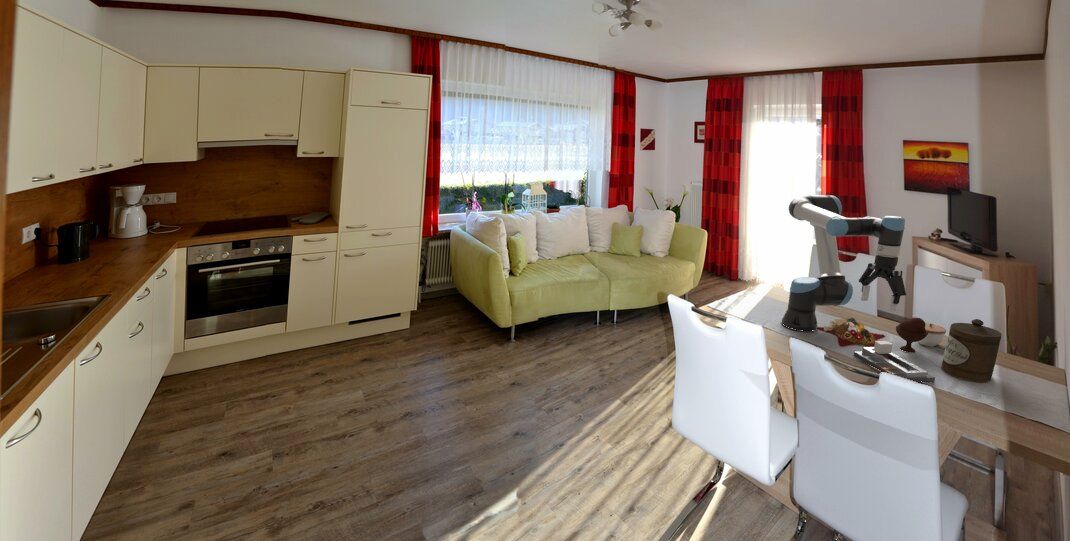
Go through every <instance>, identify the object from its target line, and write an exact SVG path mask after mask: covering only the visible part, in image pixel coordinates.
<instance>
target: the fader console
mask: <svg viewBox="0 0 1070 541" xmlns="http://www.w3.org/2000/svg"><path fill="white" fill-rule="evenodd" d="M887 354H889V358H888V359H887V358H886V357H884V356H882V355H880V354H879V353H877V352H875V351H874V346H866V347H865V346H864V347H862V349H861V351H853V357H854V356H855V358H856V359H858V360H860V362H862V361H863V362H862V363H864V362H865V363H864V364H866V363H867V364H869V365H871V366H873V367H875V368H877V369H879V370H881V372H887V373H892V374H894V375H897V376H901V377H904V378H907V379H910V380H913V381H916V382H920V383H919V384H923V383H922V382H926V383H927V382H928V383H930V382H932V383H935V380H936V377H935V376H933V375H931V374H929V373H928V371H926V370H924V369H922V368H921V367H919V366H917V365H915V364H913V363H912V362H910V361H908V360H907V359H904V358H902V357H901V356H900V355H898V354H895V353H893V352H892V351H891V353H887ZM867 364H866V365H867ZM869 365H868V366H869ZM871 366H870V367H871ZM921 381H922V382H921ZM928 383H927V384H928Z"/></svg>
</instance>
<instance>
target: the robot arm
mask: <svg viewBox="0 0 1070 541" xmlns="http://www.w3.org/2000/svg"><path fill="white" fill-rule="evenodd" d="M842 211H843V206H842V202H841V201H840V198H838V197H836V196H835V195H829V194H823V195H820V194H816V195H815V194H813V195H812V194H811V195H808V194H802V195H800V196H799V195H798V196H797V197H795V198H794V199H792V201H791V202H790V203H789V205H788V212H789V215H790V216H791V217H792V218H794V219H795V220H798V221H802V222H803V221H805V222H808V223H809V224H810V226H812V227H813V229H814V230H813V231H814V239H815V246H816V253H817V254H816V255H817V262H818V269H819V270H818V271H819V275H818V277H812V276H800V277H796V278H794V279H793V280H792V281H791V283H790V287H789V296H788V303H787V309H786V311H785V313H784V315H783V317H782V318H781V325H782V324H784V325H785V326H787V327H789V328H793V329H796V330H795V331H797V330H803V331H802V332H806V331H809V332H813V331H812V330H815V331H817V328H818V321H817V315H816V308H817V306H821V307H822V306H828V307H829V306H834V307H839V306H844V305H847V304H848V303H849V302H850V300H851V299H852V296H853V295H854V294H853V293H854V289H853V288H854V287H853V285H852V284H851V282H850V281H848V280H846V276H845V275H844V274H843V273H842V272H841V264H840V259H839V250H838V243H837V238H839V237H875V238H878V241H877V247H876V254H875V258H874V262H872V263H871V262H868V264H867V267H866V269H865V270H864V272H863V273H862V275H861V276H860V278H859V279H858V283H860V284H861V297H860V298H861V299H860V301H862V302H864V301H866V302H867V301H869V296H870V290H871V283H873V282H874V281H875V280H876V279H877V278H881V279H884V280H885V281H886V282H887V284H888V285H889V288H890V290H891V292H892V295H891V296H890V302H889V307H888V311H889V312H897V307H898V305H899V303H900V300H901V297H902V296H903V297H905V296H907V292H906V288H905V285H904V284H905V283H904V279H903V270H896V267H897V266H898V262H899V257H898V256H900V251H901V245H902V241H903V236H904V230H905V223H906V219H905V218H904V217H903V216H896V215H884V216H883V217H882V218H878V217H876V216H864V217H845V216H843V215H842ZM785 326H784V327H785ZM787 327H786V328H787ZM789 328H788V329H789ZM793 329H792V330H793Z"/></svg>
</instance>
